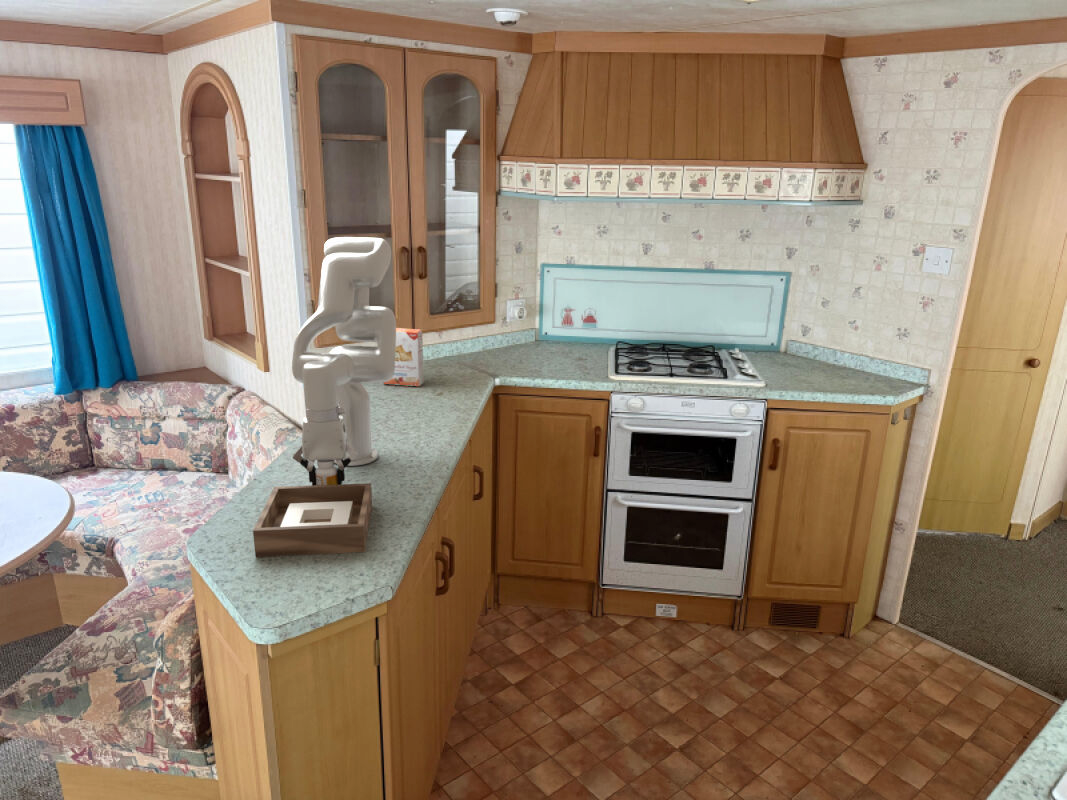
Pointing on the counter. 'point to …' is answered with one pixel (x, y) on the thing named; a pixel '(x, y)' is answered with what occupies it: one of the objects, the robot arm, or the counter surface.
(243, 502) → the counter surface
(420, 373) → the cracker box
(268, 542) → the open box
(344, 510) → the socket plate
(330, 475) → the supplement bottle
